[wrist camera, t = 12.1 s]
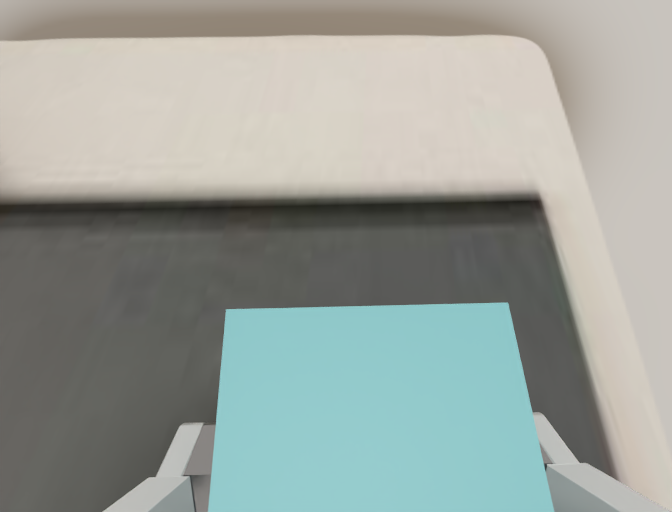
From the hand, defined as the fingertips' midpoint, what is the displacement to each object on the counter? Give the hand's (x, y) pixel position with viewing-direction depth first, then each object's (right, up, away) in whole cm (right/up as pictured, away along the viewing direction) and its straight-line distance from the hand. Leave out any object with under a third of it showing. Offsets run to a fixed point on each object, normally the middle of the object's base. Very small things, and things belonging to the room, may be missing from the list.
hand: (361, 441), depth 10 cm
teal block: (0, -3, +4) cm, 4 cm away
